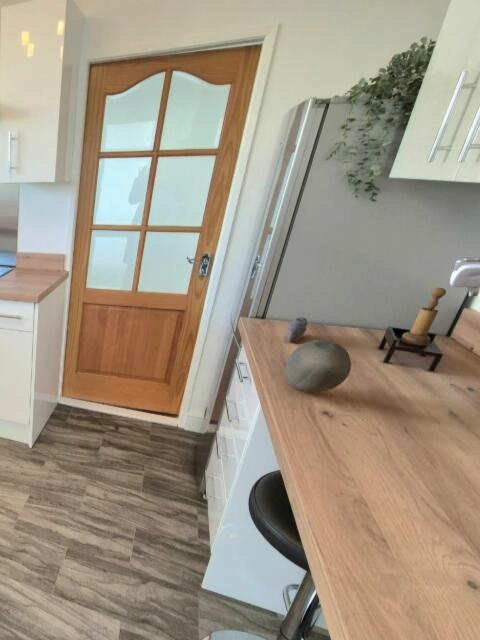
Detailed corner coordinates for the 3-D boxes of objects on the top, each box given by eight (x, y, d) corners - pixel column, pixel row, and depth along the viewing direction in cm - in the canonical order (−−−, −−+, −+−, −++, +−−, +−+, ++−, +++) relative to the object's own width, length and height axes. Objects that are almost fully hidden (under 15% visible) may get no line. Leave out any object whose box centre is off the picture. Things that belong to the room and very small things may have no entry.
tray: (424, 355, 145) (436, 333, 142) (433, 371, 134) (446, 348, 130) (378, 347, 152) (388, 326, 148) (383, 362, 140) (394, 339, 137)
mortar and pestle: (402, 337, 144) (428, 284, 136) (428, 342, 140) (457, 288, 132) (398, 342, 140) (425, 287, 132) (425, 347, 136) (454, 291, 128)
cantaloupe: (267, 386, 124) (284, 338, 118) (294, 377, 130) (313, 330, 123) (321, 408, 113) (343, 356, 106) (348, 396, 119) (372, 347, 112)
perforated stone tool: (296, 346, 153) (303, 327, 150) (279, 342, 156) (285, 324, 153) (305, 335, 162) (311, 318, 159) (288, 332, 165) (294, 315, 162)
